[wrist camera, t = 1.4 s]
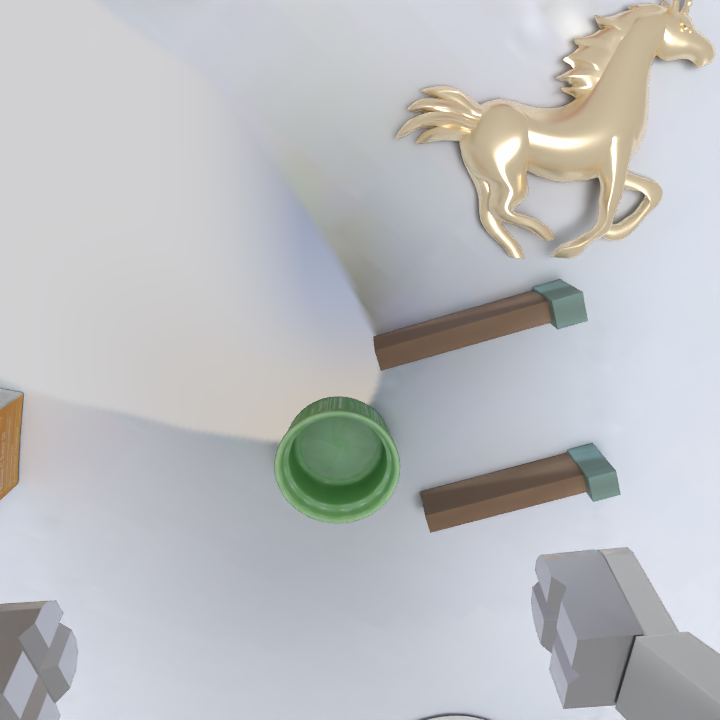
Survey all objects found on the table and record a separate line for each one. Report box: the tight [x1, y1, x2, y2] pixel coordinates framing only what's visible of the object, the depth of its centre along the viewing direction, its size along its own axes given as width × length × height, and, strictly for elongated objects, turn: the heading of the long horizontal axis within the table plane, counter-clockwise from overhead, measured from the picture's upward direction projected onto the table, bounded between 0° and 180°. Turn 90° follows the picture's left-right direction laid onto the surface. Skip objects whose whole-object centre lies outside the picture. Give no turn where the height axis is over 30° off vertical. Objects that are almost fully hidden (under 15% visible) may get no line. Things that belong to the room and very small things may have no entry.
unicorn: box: [396, 0, 715, 259], centre depth 39 cm, size 20×4×17 cm
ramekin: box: [274, 397, 400, 523], centre depth 45 cm, size 9×9×4 cm
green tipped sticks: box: [373, 279, 620, 533], centre depth 44 cm, size 16×14×4 cm
